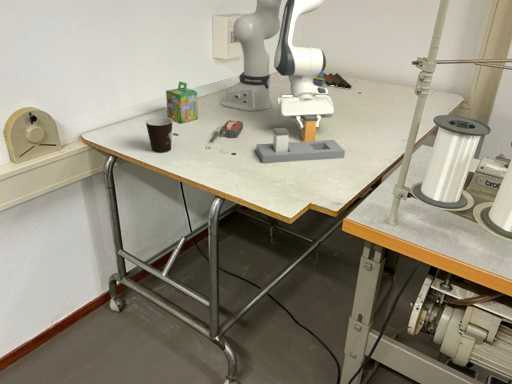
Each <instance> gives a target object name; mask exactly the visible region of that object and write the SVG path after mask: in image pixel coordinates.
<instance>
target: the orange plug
mask: <svg viewBox="0 0 512 384" xmlns="http://www.w3.org/2000/svg"><path fill="white" fill-rule="evenodd" d="M301 122H302V123H304V126H305V129H303V130H301V136H300V139H301V140H302V142H306V141H316V133H317V129H316V127H317V118H316V117H315V116H314V115H303V119H302V121H301Z"/></svg>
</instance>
